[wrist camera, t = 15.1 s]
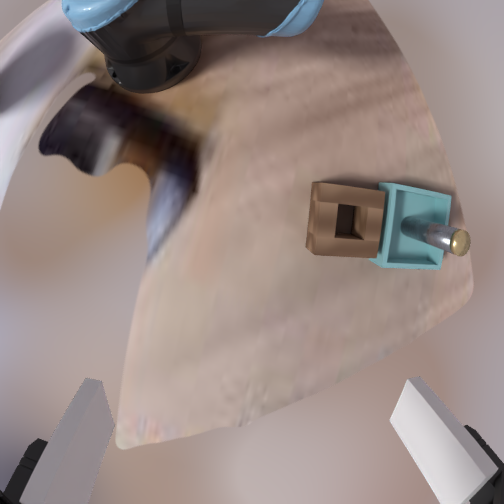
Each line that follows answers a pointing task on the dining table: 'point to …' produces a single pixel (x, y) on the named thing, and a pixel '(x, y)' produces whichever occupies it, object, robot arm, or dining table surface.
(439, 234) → the steel pin
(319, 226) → the block
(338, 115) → the dining table surface
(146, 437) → the dining table surface
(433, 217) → the pin tray
